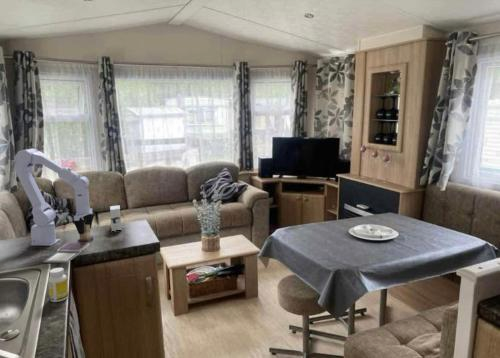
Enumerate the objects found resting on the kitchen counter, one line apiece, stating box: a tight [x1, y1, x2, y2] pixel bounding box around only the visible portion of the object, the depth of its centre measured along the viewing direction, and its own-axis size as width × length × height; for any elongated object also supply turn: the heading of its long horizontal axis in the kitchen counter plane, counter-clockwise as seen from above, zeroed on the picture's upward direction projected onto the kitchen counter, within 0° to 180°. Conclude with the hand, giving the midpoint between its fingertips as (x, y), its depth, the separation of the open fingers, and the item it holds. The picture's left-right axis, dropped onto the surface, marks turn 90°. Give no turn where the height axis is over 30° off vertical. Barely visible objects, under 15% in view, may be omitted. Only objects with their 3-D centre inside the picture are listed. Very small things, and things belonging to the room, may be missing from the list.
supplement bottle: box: [47, 267, 69, 303], centre depth 119 cm, size 5×5×10 cm
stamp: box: [77, 225, 94, 243], centre depth 173 cm, size 5×5×8 cm
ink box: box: [109, 204, 122, 232], centre depth 192 cm, size 8×5×12 cm, turn 21°
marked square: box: [43, 251, 81, 263], centre depth 154 cm, size 10×10×1 cm
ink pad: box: [56, 241, 91, 254], centre depth 165 cm, size 10×10×1 cm
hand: (85, 231), depth 173 cm, fingers open, 7 cm apart
